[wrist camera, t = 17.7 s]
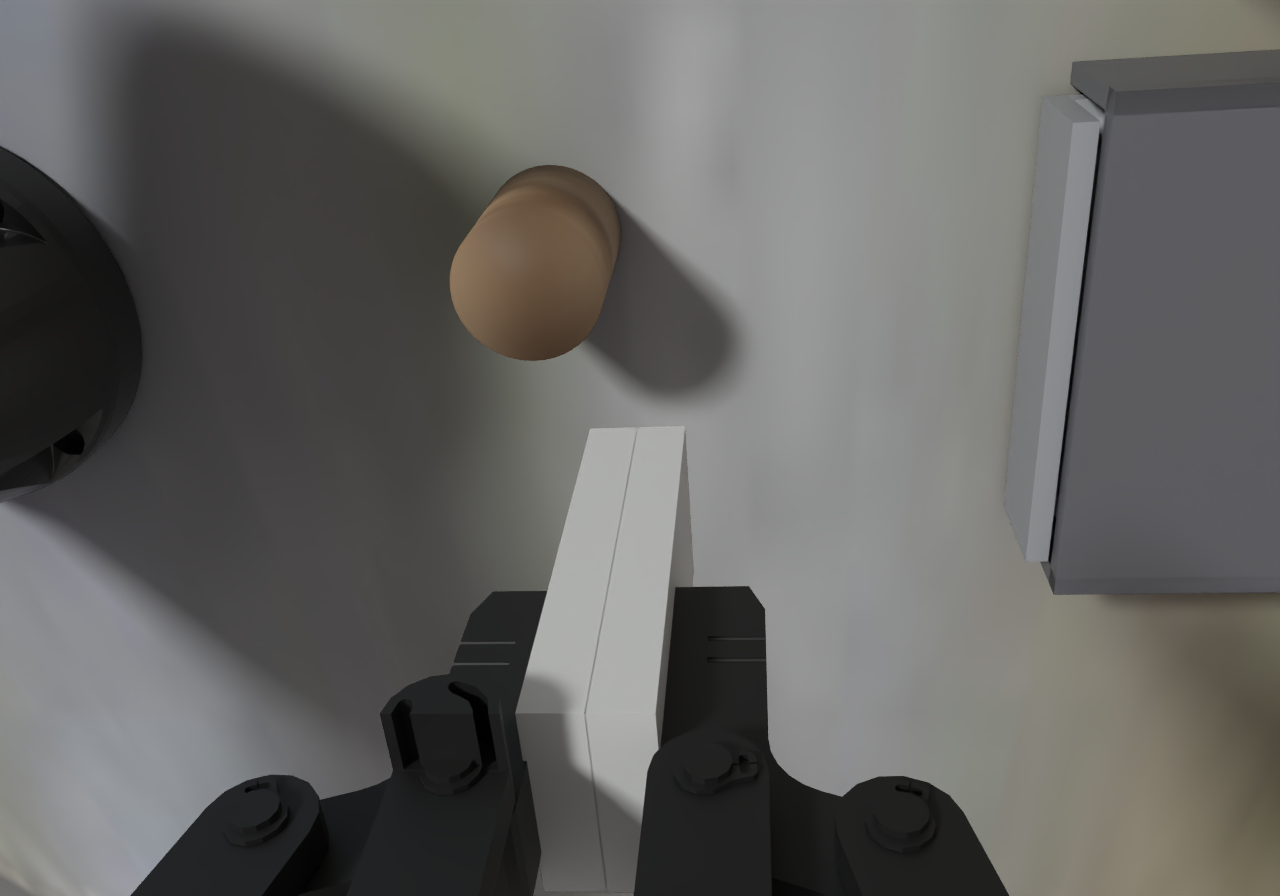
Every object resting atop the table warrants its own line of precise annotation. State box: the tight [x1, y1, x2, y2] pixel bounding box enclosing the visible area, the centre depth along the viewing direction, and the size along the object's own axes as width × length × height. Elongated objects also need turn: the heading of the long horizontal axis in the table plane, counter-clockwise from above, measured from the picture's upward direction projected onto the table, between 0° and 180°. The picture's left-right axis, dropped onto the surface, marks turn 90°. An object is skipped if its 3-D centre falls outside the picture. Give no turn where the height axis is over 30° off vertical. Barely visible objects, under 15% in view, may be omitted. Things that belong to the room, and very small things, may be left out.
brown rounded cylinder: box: [450, 165, 621, 361], centre depth 39 cm, size 5×5×6 cm
